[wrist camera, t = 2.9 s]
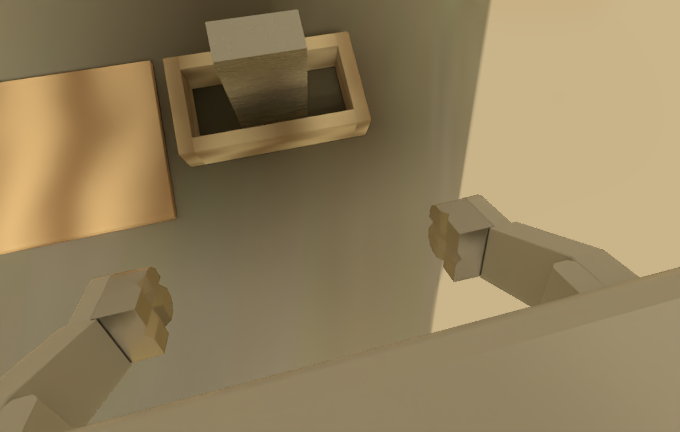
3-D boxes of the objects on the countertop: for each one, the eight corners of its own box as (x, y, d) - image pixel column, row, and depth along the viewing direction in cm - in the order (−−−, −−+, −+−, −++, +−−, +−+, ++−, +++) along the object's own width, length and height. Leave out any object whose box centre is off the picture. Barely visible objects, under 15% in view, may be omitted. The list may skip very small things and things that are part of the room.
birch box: (191, 167, 25) (178, 154, 23) (176, 79, 26) (162, 58, 24) (365, 134, 27) (371, 119, 24) (344, 53, 28) (348, 31, 25)
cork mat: (-12, 257, 23) (-19, 256, 22) (-24, 90, 25) (-30, 86, 24) (177, 218, 24) (174, 217, 24) (152, 64, 26) (149, 60, 26)
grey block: (241, 128, 26) (212, 62, 18) (235, 98, 26) (204, 21, 19) (307, 116, 27) (307, 48, 19) (301, 87, 27) (297, 9, 19)
